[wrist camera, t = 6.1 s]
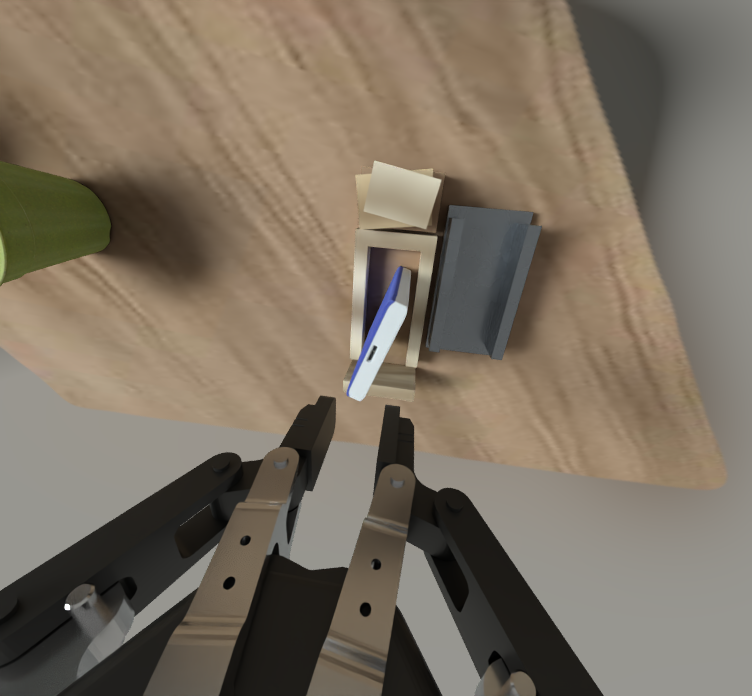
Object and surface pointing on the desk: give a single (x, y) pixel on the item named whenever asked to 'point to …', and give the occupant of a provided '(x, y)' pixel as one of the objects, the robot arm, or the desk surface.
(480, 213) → the stand
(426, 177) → the offcut stack
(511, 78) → the desk surface
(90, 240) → the plant pot
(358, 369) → the hard drive
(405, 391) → the frame
